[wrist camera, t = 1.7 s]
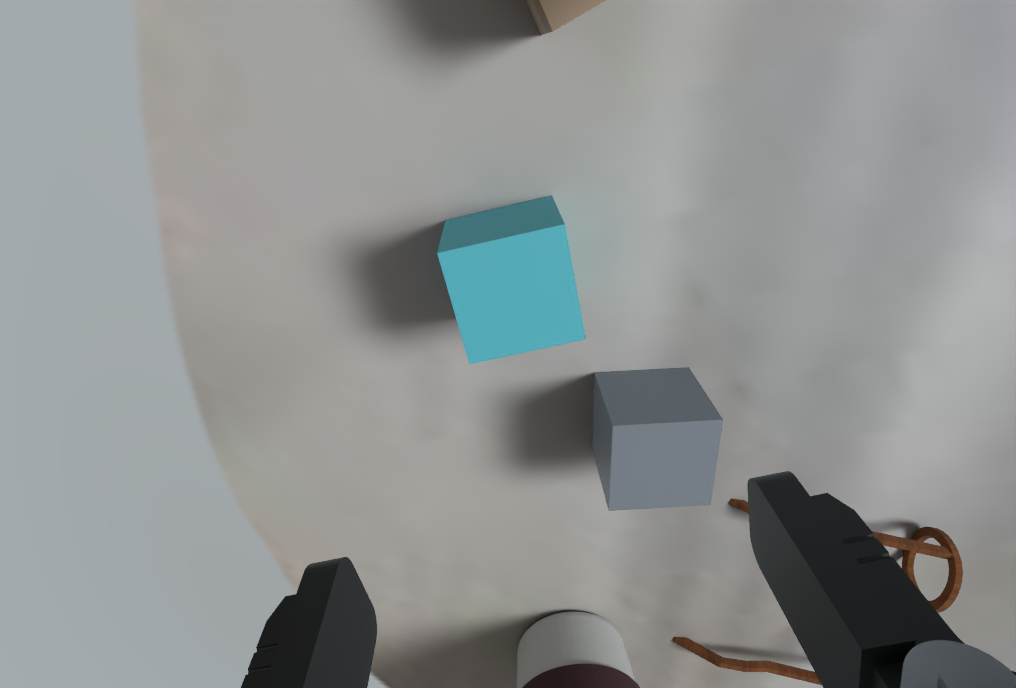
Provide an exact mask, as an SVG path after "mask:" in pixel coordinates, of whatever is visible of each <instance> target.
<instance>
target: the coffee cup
mask: <svg viewBox="0 0 1016 688" xmlns="http://www.w3.org/2000/svg"><path fill="white" fill-rule="evenodd" d="M517 688H640V687H639V686H638V684H637V683H636V682H635V679H634V676H633V672H632V669H631V666H630V663H629V659H628V656H627V653H626V650H625V646H624V643H623V640H622V637H621V635H620V634H619V632H618V630H617V629H616V628H615V627H614V626H613V625H612V624H611V623H610V622H609V621H607V620H606V619H604V618H602V617H599V616H597V615H595V614H591V613H586V612H562V613H557V614H553V615H550V616H548V617H545V618H543V619H541V620H539V621H537V622H536V623H535V624H533V625H532V626H531V627H530V628H529V629H528V630H527V631H526V632H525V633H524V635H523V636H522V638H521V640H520V642H519V646H518V651H517Z"/></svg>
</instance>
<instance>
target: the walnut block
mask: <svg viewBox="0 0 1016 688" xmlns="http://www.w3.org/2000/svg"><path fill="white" fill-rule="evenodd" d="M525 1H526V4H527V6H528V8H529V10H530V13H531V15H532V17H533V20H534V22H535V24H536V26H537V29H538V31H539V33H540V35H542V34H546V33H549V32H552V31H554V30H556V29H557V28H559V27H561V26H562V25H564V24H566V23H568V22H569V21H571V20H573V19H574V18H576V17H578V16H580V15H581V14H583V13H585V12H586V11H588V10H590V9H591V8H593V7H595V6H597V5H598V4H600V3H602V2H603V1H605V0H525Z"/></svg>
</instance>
